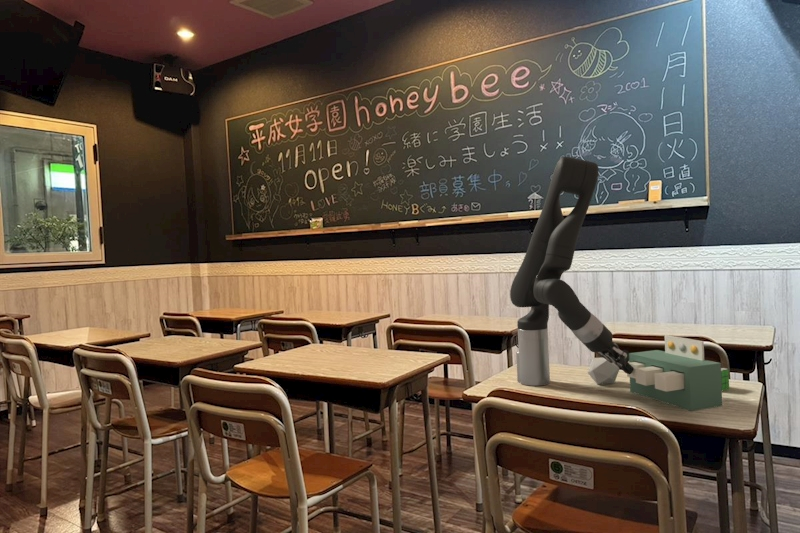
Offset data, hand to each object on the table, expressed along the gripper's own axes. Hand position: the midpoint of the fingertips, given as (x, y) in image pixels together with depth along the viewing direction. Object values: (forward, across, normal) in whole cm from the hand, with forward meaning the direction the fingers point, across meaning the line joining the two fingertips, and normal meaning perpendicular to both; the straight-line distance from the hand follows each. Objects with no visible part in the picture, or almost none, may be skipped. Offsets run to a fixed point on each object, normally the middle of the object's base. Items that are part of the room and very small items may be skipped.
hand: (630, 371), depth 156 cm
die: (+7, +16, +3) cm, 18 cm away
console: (+11, -7, -1) cm, 13 cm away
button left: (+4, 0, -1) cm, 4 cm away
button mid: (+2, -7, +1) cm, 7 cm away
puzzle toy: (+23, -4, -13) cm, 26 cm away
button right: (+2, -14, +1) cm, 14 cm away
